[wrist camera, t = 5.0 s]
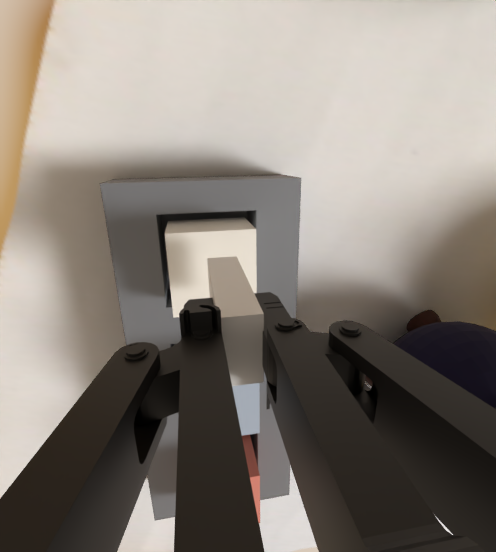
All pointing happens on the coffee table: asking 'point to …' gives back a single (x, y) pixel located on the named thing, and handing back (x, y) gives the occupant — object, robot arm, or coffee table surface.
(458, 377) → the toy
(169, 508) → the console
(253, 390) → the key slate
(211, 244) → the key ivory
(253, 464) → the key brick
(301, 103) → the coffee table surface
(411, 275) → the coffee table surface
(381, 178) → the coffee table surface
